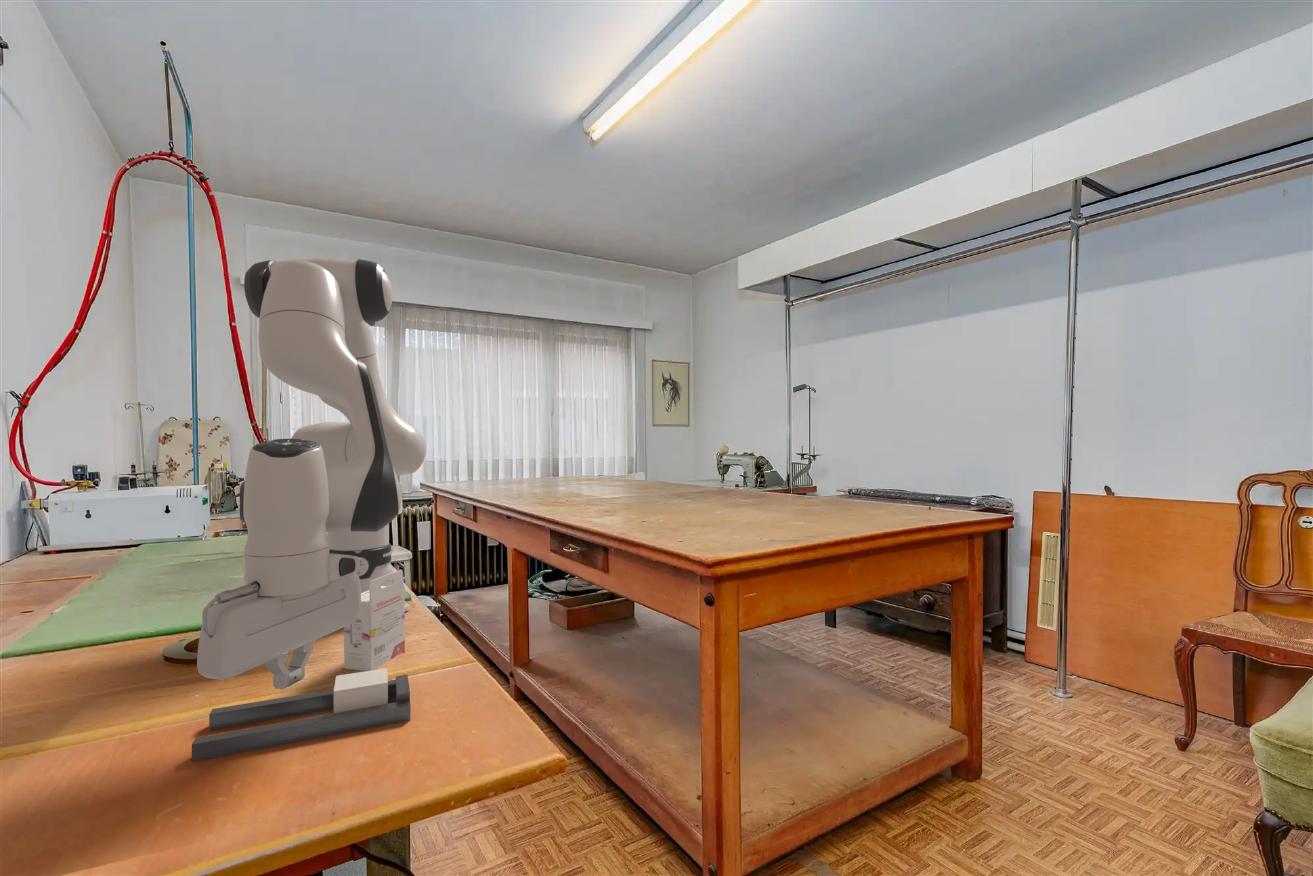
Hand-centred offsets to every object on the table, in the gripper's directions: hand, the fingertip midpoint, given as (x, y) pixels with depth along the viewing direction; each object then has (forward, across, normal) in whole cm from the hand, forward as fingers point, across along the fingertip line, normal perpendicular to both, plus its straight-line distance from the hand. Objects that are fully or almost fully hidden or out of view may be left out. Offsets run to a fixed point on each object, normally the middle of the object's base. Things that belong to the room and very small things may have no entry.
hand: (289, 683), depth 72 cm
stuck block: (+5, +5, -6) cm, 9 cm away
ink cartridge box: (+7, +20, +4) cm, 22 cm away
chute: (+6, +1, -2) cm, 7 cm away
